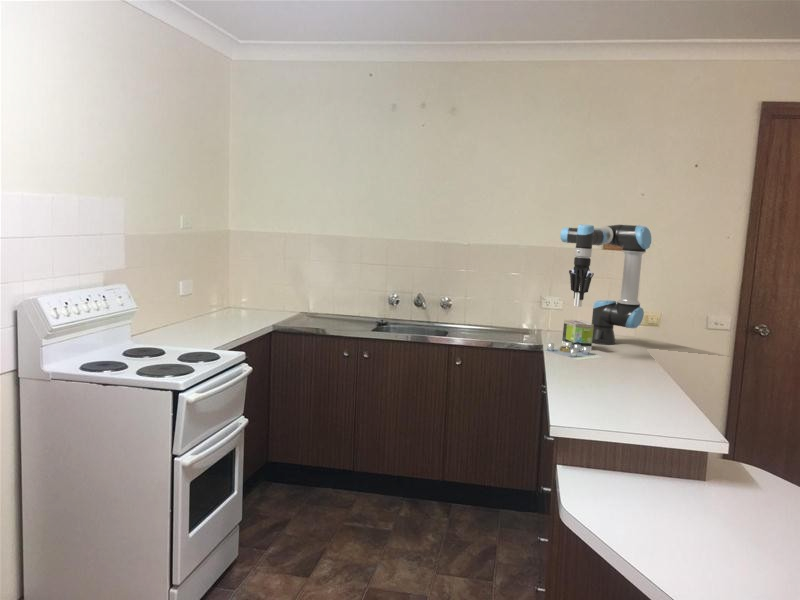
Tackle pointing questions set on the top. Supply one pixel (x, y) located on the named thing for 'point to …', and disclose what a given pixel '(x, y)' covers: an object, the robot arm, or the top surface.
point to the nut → (564, 349)
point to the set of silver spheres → (572, 351)
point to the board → (579, 354)
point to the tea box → (578, 333)
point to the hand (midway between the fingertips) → (577, 306)
